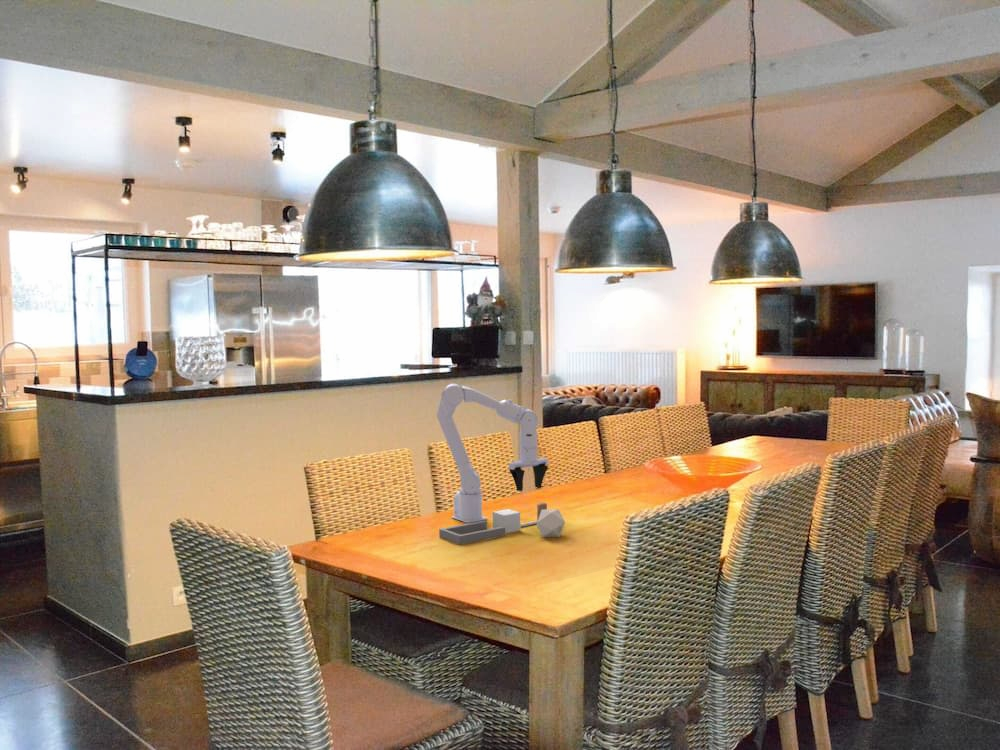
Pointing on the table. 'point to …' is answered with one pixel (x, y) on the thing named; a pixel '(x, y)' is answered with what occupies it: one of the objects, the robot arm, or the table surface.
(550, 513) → the die
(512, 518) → the tethered block
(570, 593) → the table surface
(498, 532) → the dark grey tray
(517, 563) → the table surface
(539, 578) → the table surface
